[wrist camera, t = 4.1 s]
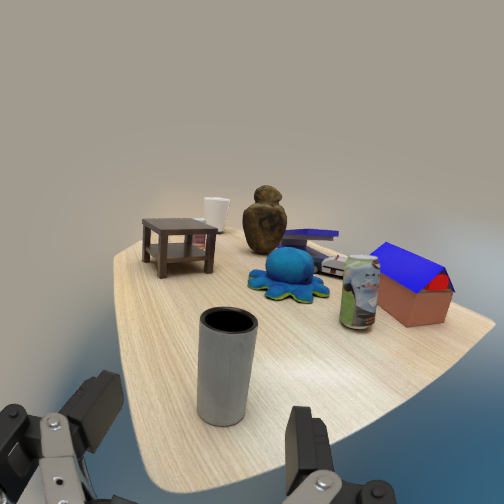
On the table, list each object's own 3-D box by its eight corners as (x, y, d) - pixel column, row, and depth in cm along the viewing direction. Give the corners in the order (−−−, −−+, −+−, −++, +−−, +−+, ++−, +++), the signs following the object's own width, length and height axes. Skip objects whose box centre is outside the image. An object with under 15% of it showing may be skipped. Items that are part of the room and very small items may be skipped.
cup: (197, 229, 112) (200, 196, 109) (220, 229, 117) (223, 198, 114) (207, 234, 103) (210, 199, 100) (231, 234, 109) (235, 200, 106)
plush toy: (247, 270, 69) (251, 235, 67) (317, 277, 69) (323, 244, 67) (246, 297, 53) (251, 253, 51) (335, 306, 53) (344, 264, 51)
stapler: (306, 264, 80) (311, 229, 77) (265, 241, 105) (269, 214, 102) (338, 264, 84) (344, 232, 82) (293, 242, 109) (297, 216, 107)
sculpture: (278, 251, 92) (286, 187, 87) (286, 258, 84) (295, 189, 79) (236, 248, 89) (243, 182, 84) (240, 255, 81) (249, 183, 76)
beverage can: (365, 337, 42) (384, 264, 39) (325, 322, 46) (340, 252, 43) (376, 324, 46) (393, 258, 43) (340, 311, 51) (354, 248, 48)
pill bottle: (207, 249, 84) (210, 220, 82) (192, 249, 81) (194, 220, 79) (200, 245, 87) (202, 217, 85) (185, 245, 84) (187, 217, 82)
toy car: (305, 266, 78) (308, 248, 77) (362, 279, 72) (366, 260, 71) (300, 270, 74) (303, 251, 72) (362, 284, 68) (366, 265, 67)
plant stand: (159, 279, 56) (160, 229, 54) (140, 260, 66) (142, 218, 63) (214, 273, 64) (218, 228, 62) (189, 257, 74) (191, 218, 71)
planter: (236, 393, 27) (248, 305, 25) (250, 423, 23) (267, 331, 21) (193, 397, 26) (195, 306, 23) (202, 429, 22) (205, 334, 19)
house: (393, 288, 67) (403, 243, 64) (445, 323, 48) (462, 268, 45) (355, 288, 64) (365, 239, 62) (406, 328, 45) (424, 265, 43)
